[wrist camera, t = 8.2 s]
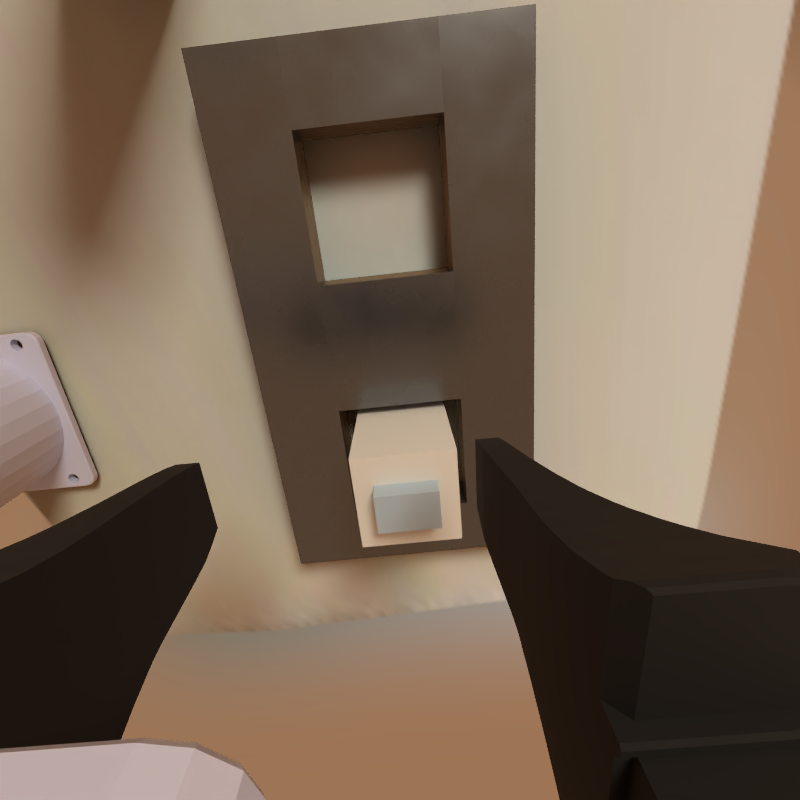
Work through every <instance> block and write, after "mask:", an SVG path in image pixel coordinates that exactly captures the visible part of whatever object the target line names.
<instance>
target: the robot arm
mask: <svg viewBox="0 0 800 800" xmlns="http://www.w3.org/2000/svg"><path fill="white" fill-rule="evenodd" d="M17 340H18V341H20V342H21V344H22V347H23V348H21V347H20V346H19V345H18V343H17ZM475 458H476V494H477V510H478V514H479V519H480V523H481V527H482V532H483V536H484V540H485V543H486V545H487V548H488V551H489V553H490V556H491V559H492V562H493V564H494V567H495V570H496V572H497V575H498V578H499V580H500V583H501V586H502V588H503V591H504V594H505V596H506V599H507V602H508V604H509V607H510V609H511V612H512V615H513V618H514V621H515V624H516V627H517V630H518V633H519V637H520V641H521V644H522V648H523V652H524V655H525V659H526V663H527V667H528V671H529V675H530V679H531V682H532V687H533V691H534V695H535V699H536V703H537V707H538V711H539V714H540V718H541V722H542V727H543V731H544V735H545V739H546V743H547V748H548V752H549V756H550V760H551V764H552V769H553V773H554V777H555V781H556V785H557V790H558V794H559V798H560V800H800V553H799V552H798V551H796V550H792V549H787V548H782V547H777V546H771V545H767V544H761V543H756V542H751V541H745V540H741V539H735V538H730V537H726V536H721V535H717V534H713V533H709V532H706V531H701V530H698V529H694V528H690V527H686V526H683V525H679V524H676V523H672V522H669V521H666V520H662V519H659V518H656V517H653V516H650V515H647V514H645V513H642V512H639V511H636V510H633V509H630V508H627V507H625V506H622V505H620V504H617V503H615V502H612V501H610V500H608V499H605V498H603V497H601V496H599V495H596V494H594V493H592V492H589V491H587V490H585V489H583V488H581V487H579V486H577V485H575V484H574V483H572V482H570V481H568V480H566V479H564V478H563V477H561V476H559V475H557V474H555V473H554V472H552V471H550V470H549V469H547V468H545V467H544V466H542V465H540V464H539V463H537V462H536V461H534V460H533V459H531V458H530V457H528V456H527V455H525V454H524V453H522V452H521V451H519V450H518V449H516V448H515V447H513V446H512V445H510V444H509V443H507V442H506V441H504V440H502V439H501V438H499V437H497V438H486V439H475ZM74 474H75V475H76V476H78V478H79V479H78V478H76V477H75V476H74ZM97 477H98V475H97V472H96V469H95V467H94V464H93V462H92V459H91V457H90V454H89V452H88V449H87V447H86V444H85V442H84V439H83V437H82V435H81V432H80V430H79V427H78V425H77V422H76V420H75V417H74V415H73V412H72V410H71V407H70V405H69V402H68V400H67V398H66V395H65V393H64V390H63V388H62V385H61V383H60V380H59V378H58V375H57V373H56V370H55V368H54V365H53V363H52V361H51V358H50V356H49V353H48V351H47V348H46V346H45V343H44V341H43V339H42V338H41V336H39V335H38V334H37V333H34V332H19V333H10V334H1V335H0V507H2V506H3V505H5V504H6V503H7V502H9V501H10V500H12V499H13V498H15V497H16V496H18V495H19V494H20V493H22V492H28V491H38V490H48V489H58V488H68V487H78V486H88V485H91V484H92V483H93V482H94V481H96V480H97ZM217 529H218V527H217V524H216V520H215V517H214V513H213V510H212V506H211V503H210V499H209V496H208V492H207V489H206V485H205V482H204V478H203V475H202V471H201V468H200V464H199V463H192V464H180V465H174V466H172V467H169V468H166V469H164V470H162V471H160V472H158V473H155V474H153V475H151V476H149V477H147V478H146V479H144V480H142V481H140V482H138V483H136V484H134V485H132V486H130V487H128V488H126V489H125V490H123V491H121V492H119V493H117V494H115V495H113V496H111V497H110V498H108V499H106V500H104V501H102V502H100V503H98V504H96V505H94V506H92V507H90V508H88V509H86V510H84V511H82V512H80V513H78V514H76V515H74V516H72V517H70V518H68V519H66V520H64V521H62V522H60V523H58V524H57V525H55V526H52V527H50V528H48V529H46V530H44V531H42V532H40V533H37V534H36V535H33V536H31V537H29V538H26V539H24V540H22V541H19V542H17V543H15V544H12V545H10V546H8V547H5V548H3V549H1V550H0V800H267V799H266V797H265V796H264V794H263V793H262V791H261V790H260V789H259V787H258V786H257V785H256V783H255V782H254V781H253V780H252V778H251V777H250V776H249V775H248V773H247V772H246V771H245V770H244V768H243V767H242V766H241V764H240V763H238V762H237V761H234V760H232V759H230V758H228V757H226V756H224V755H222V754H219V753H217V752H215V751H213V750H211V749H208V748H206V747H204V746H202V745H200V744H198V743H193V742H182V741H172V740H161V739H151V738H137V739H125V740H121V738H122V735H123V732H124V730H125V727H126V725H127V722H128V720H129V717H130V714H131V712H132V709H133V707H134V704H135V702H136V699H137V697H138V695H139V692H140V690H141V688H142V685H143V683H144V680H145V678H146V676H147V673H148V671H149V669H150V666H151V664H152V661H153V660H154V658H155V655H156V654H157V652H158V650H159V648H160V646H161V644H162V642H163V640H164V638H165V636H166V634H167V632H168V631H169V629H170V627H171V625H172V623H173V621H174V620H175V618H176V616H177V614H178V612H179V610H180V609H181V607H182V605H183V603H184V601H185V600H186V598H187V596H188V594H189V592H190V590H191V589H192V587H193V585H194V583H195V581H196V579H197V577H198V575H199V573H200V572H201V570H202V568H203V566H204V564H205V562H206V559H207V557H208V554H209V551H210V549H211V546H212V543H213V540H214V537H215V534H216V532H217Z"/></svg>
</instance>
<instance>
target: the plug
mask: <svg viewBox="0 0 800 800" xmlns="http://www.w3.org/2000/svg"><path fill="white" fill-rule="evenodd" d="M348 460H349V466H350V472H351V479H352V485H353V491H354V497H355V503H356V509H357V515H358V522H359V528H360V534H361V540H362V546H363V547H373V546H384V545H395V544H406V543H416V542H427V541H438V540H449V539H460V538H462V525H461V509H460V493H459V476H458V460H457V448H456V445H455V441H454V438H453V434H452V431H451V427H450V424H449V420H448V417H447V414H446V410H445V407H444V403H443V401H434V402H424V403H414V404H405V405H395V406H385V407H375V408H366V409H358V414H357V419H356V424H355V429H354V434H353V439H352V444H351V449H350V454H349V459H348Z"/></svg>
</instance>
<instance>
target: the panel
mask: <svg viewBox="0 0 800 800" xmlns="http://www.w3.org/2000/svg"><path fill="white" fill-rule="evenodd" d="M181 50H182V54H183V58H184V63H185V67H186V71H187V75H188V80H189V84H190V88H191V93H192V97H193V101H194V105H195V110H196V114H197V118H198V123H199V127H200V131H201V135H202V140H203V144H204V148H205V153H206V157H207V161H208V165H209V170H210V174H211V178H212V183H213V187H214V191H215V196H216V200H217V204H218V208H219V213H220V217H221V221H222V226H223V230H224V234H225V238H226V243H227V247H228V251H229V256H230V260H231V264H232V268H233V273H234V277H235V281H236V286H237V290H238V294H239V298H240V303H241V307H242V311H243V316H244V320H245V324H246V329H247V333H248V337H249V341H250V346H251V350H252V354H253V359H254V363H255V367H256V371H257V376H258V380H259V384H260V389H261V393H262V397H263V401H264V406H265V410H266V414H267V419H268V423H269V427H270V431H271V436H272V440H273V444H274V449H275V453H276V457H277V462H278V466H279V470H280V474H281V479H282V483H283V487H284V492H285V496H286V500H287V504H288V509H289V513H290V517H291V522H292V526H293V530H294V534H295V539H296V543H297V547H298V552H299V556H300V560H301V564H304V563H314V562H325V561H336V560H346V559H357V558H368V557H378V556H389V555H400V554H410V553H421V552H432V551H442V550H453V549H464V548H474V547H485V546H487V545H486V543H485V540H484V536H483V532H482V527H481V523H480V519H479V514H478V510H477V494H476V458H475V439H486V438H497V437H499V438H501V439H502V440H504V441H506V442H507V443H509V444H510V445H512V446H513V447H515V448H516V449H518V450H519V451H521V452H522V453H524V454H525V455H527V456H528V457H530V458H531V459H533V460H534V272H535V76H536V4H532V5H524V6H516V7H508V8H500V9H492V10H484V11H476V12H469V13H461V14H453V15H445V16H437V17H429V18H421V19H413V20H405V21H397V22H389V23H381V24H373V25H365V26H357V27H349V28H341V29H333V30H325V31H317V32H309V33H301V34H293V35H285V36H277V37H269V38H261V39H253V40H245V41H237V42H229V43H221V44H213V45H205V46H197V47H189V48H181ZM434 125H439V138H440V154H441V170H442V186H443V201H444V217H445V233H446V249H447V265H448V268H440V269H431V270H422V271H413V272H404V273H395V274H386V275H377V276H367V277H358V278H349V279H340V280H331V281H325V278H324V271H323V265H322V259H321V253H320V247H319V240H318V234H317V228H316V222H315V216H314V210H313V203H312V197H311V191H310V185H309V179H308V172H307V166H306V160H305V154H304V148H303V142H302V141H307V140H316V139H324V138H332V137H341V136H349V135H358V134H366V133H375V132H383V131H391V130H400V129H408V128H417V127H425V126H434ZM453 399H456V407H457V423H458V438H459V454H460V470H461V481H459V493H460V509H461V525H462V538H460V539H449V540H438V541H427V542H416V543H406V544H395V545H384V546H373V547H363V546H362V540H361V534H360V528H359V522H358V515H357V509H356V503H355V497H354V491H353V485H352V479H351V472H350V466H349V460H348V459H349V454H350V449H351V438H350V432H349V426H348V420H347V414H346V410H356V409H366V408H375V407H385V406H395V405H405V404H414V403H424V402H434V401H444V400H453Z"/></svg>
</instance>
